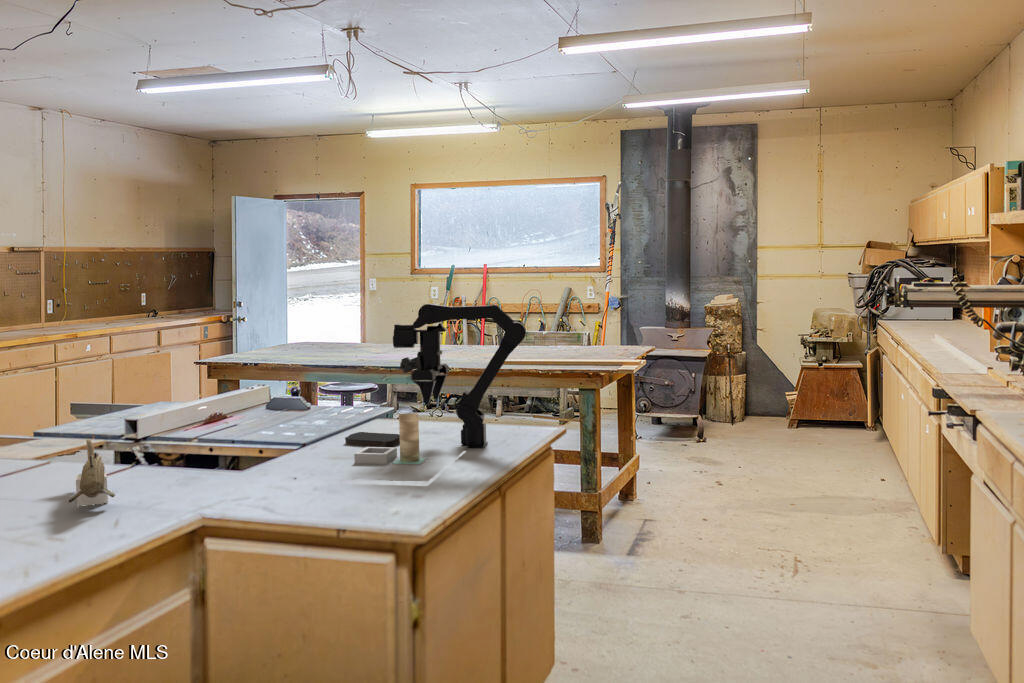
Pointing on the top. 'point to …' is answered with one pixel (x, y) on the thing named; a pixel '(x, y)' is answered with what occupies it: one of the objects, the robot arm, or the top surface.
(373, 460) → the jig board
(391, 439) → the black sponge
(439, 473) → the top surface
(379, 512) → the top surface
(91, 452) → the wood carving
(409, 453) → the maple post
